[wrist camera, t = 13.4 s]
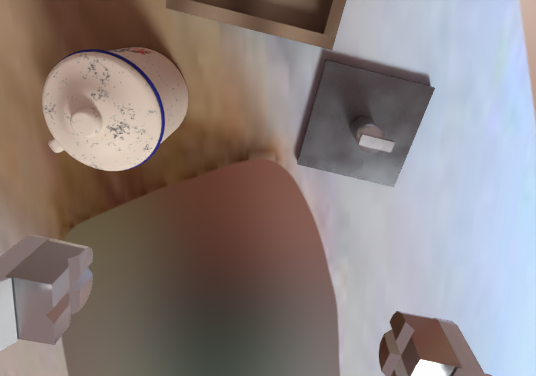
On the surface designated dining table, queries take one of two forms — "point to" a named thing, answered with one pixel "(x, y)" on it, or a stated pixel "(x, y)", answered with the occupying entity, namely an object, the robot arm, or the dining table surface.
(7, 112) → the dining table surface
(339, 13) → the walnut tray
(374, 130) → the post stand
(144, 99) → the teacup with lid
